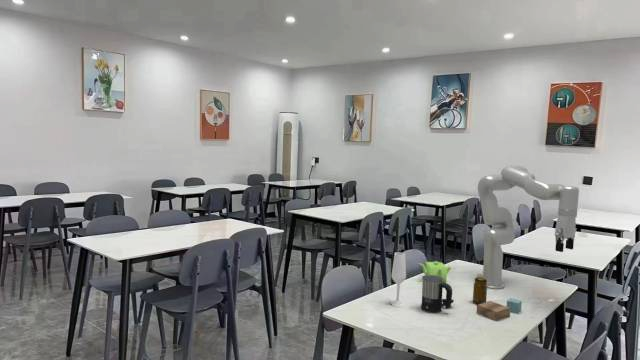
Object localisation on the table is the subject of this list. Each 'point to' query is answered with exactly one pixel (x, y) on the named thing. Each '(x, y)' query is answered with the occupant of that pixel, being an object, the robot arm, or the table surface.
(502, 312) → the block
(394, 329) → the table surface
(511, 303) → the teal cube
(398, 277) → the champagne flute
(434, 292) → the milk frother
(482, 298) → the condiment
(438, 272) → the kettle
